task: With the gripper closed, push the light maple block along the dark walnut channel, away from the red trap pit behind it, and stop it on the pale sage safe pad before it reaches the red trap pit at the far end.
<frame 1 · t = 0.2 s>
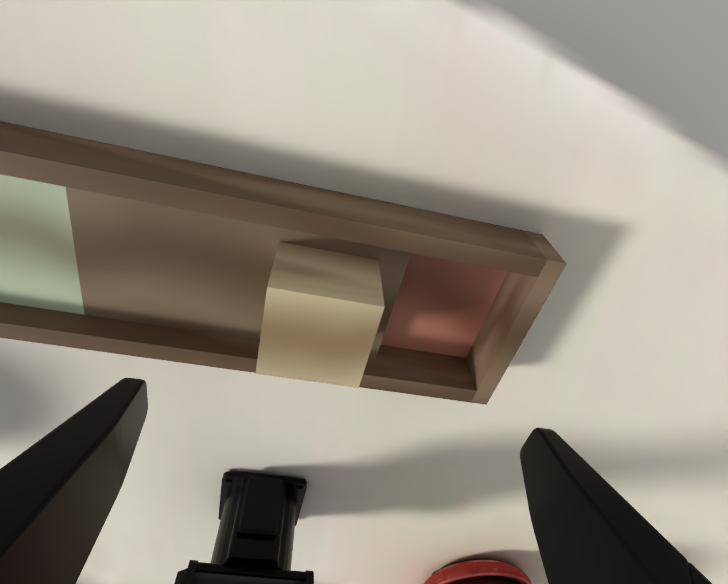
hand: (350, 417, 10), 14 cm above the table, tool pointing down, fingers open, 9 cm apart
plant pot: (473, 576, 46), on the table
maple block: (320, 291, 23), point 1 cm above the table, touching trap channel
trap channel: (181, 251, 23), on the table
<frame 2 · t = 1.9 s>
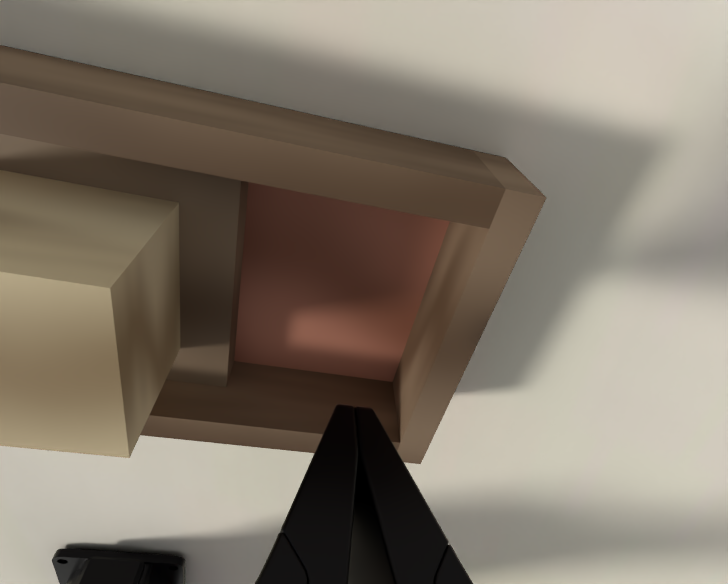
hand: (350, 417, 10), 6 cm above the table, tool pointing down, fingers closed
maple block: (86, 268, 12), point 1 cm above the table, touching trap channel
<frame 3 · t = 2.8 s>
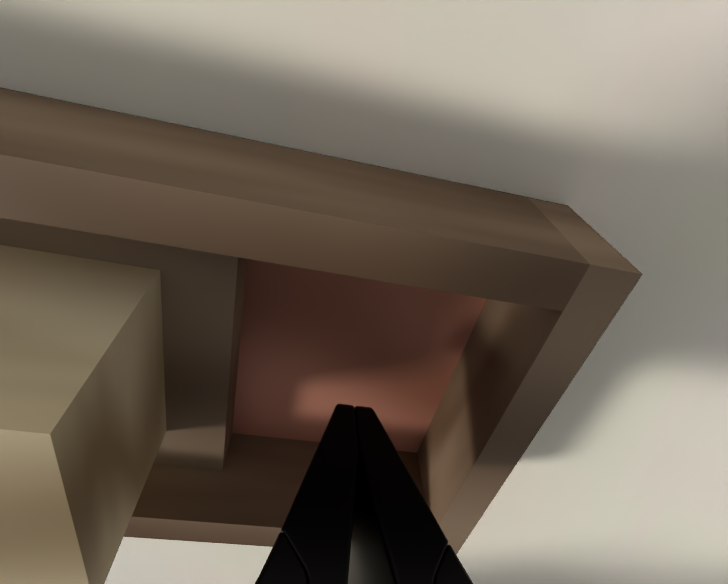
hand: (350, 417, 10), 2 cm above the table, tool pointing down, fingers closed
maple block: (46, 346, 10), point 1 cm above the table, touching trap channel
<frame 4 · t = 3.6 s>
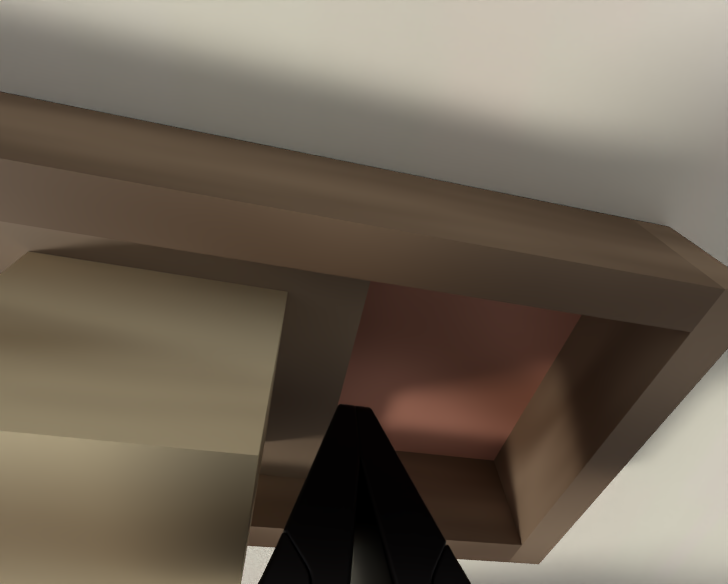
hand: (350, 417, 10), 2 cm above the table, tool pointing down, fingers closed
maple block: (166, 362, 10), point 2 cm above the table, touching gripper, trap channel
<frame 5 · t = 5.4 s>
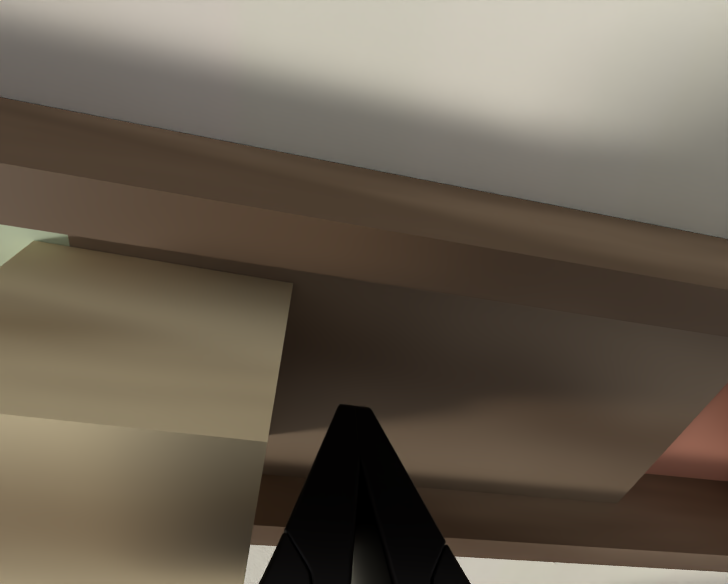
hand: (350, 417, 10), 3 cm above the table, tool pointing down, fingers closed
maple block: (170, 354, 10), point 2 cm above the table, touching gripper
trap channel: (290, 338, 12), on the table
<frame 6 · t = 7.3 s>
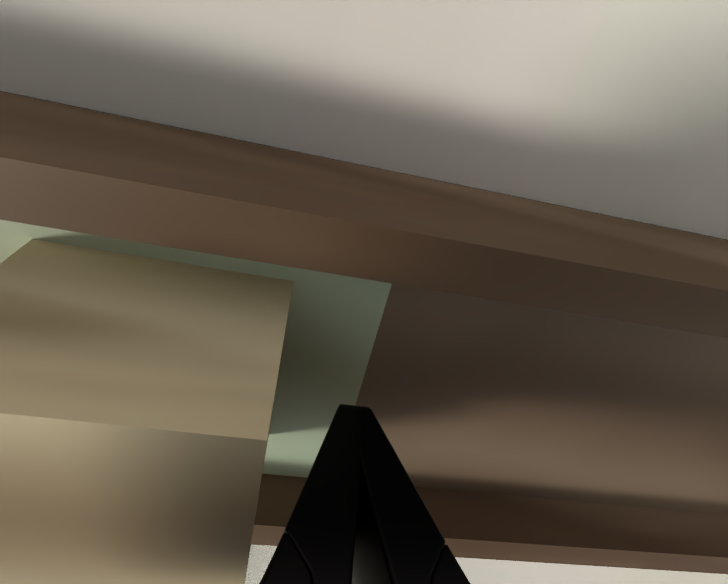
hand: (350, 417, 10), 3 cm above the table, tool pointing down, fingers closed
maple block: (170, 353, 10), point 1 cm above the table, touching gripper, trap channel
trap channel: (507, 367, 13), on the table
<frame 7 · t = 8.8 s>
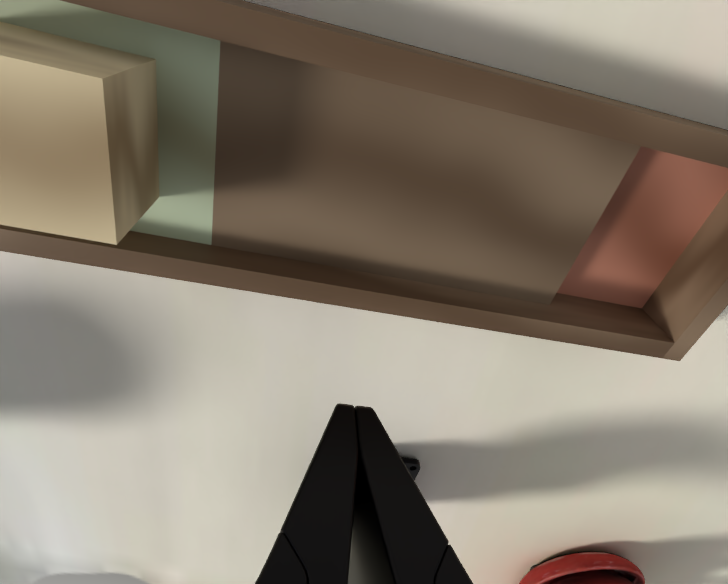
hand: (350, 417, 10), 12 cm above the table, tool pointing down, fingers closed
plant pot: (572, 571, 42), on the table
maple block: (84, 118, 16), point 1 cm above the table, touching trap channel
trap channel: (333, 165, 19), on the table
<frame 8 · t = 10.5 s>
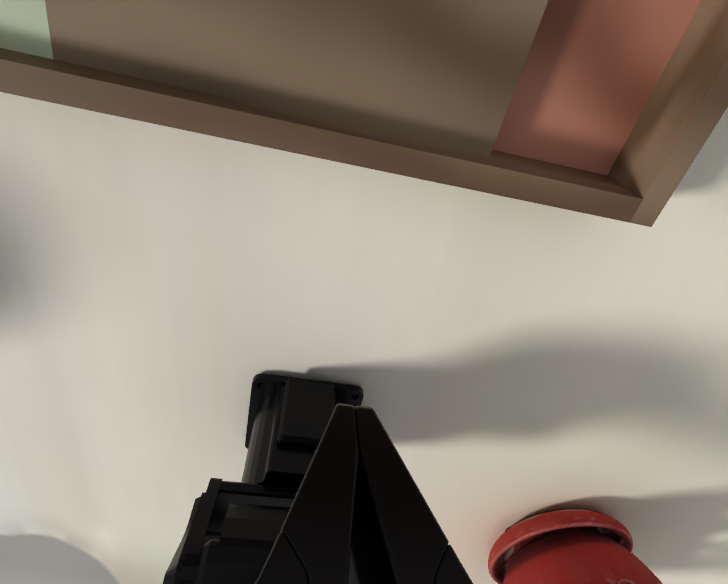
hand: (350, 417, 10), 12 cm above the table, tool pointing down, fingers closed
plant pot: (553, 535, 38), on the table
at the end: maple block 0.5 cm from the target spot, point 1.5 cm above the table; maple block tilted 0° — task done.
